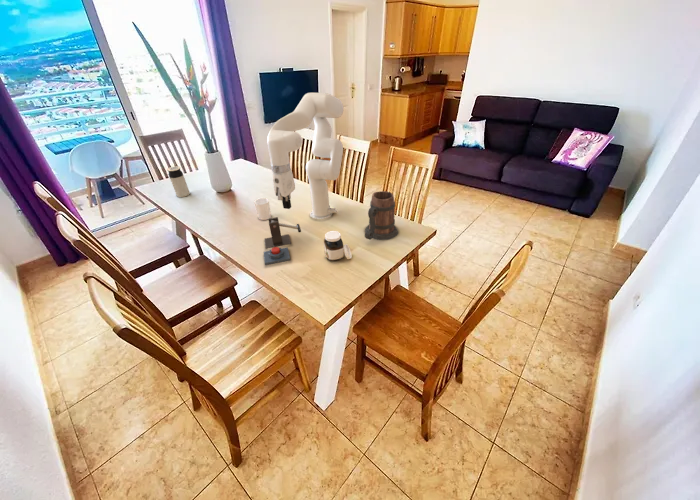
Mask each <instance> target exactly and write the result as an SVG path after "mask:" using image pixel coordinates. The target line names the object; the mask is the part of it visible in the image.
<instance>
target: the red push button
mask: <svg viewBox="0 0 700 500" xmlns="http://www.w3.org/2000/svg"><path fill="white" fill-rule="evenodd" d="M279 248H280V246H278V247H272V248H270V250H271V251H272V254H279V253H280V249H279Z"/></svg>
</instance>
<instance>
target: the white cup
mask: <svg viewBox="0 0 700 500" xmlns="http://www.w3.org/2000/svg"><path fill="white" fill-rule="evenodd" d="M253 203H254V204H253V205H254V207H255V211H256V214H257V218H258V219H259V220H260V221H266V220H268V219H269V218H272V215H271V214H272V213H271V205H270V199H269V198H267V197H259V198H257V199H255V200H254V201H253Z"/></svg>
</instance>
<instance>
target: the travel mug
mask: <svg viewBox="0 0 700 500" xmlns="http://www.w3.org/2000/svg"><path fill="white" fill-rule="evenodd" d="M166 171H167V172H168V178H169V180H170V182H171V185H172V187H173V190H174V192H175V195H176V197H178V198H185V197H187V196H189V195H190V194H191V192H190V189H189V187H188V183H187V181H186V177H185V176H184V173H183V171H182V170H181V167H180V166H179V165H177V166H171V167H168V168H167V169H166Z"/></svg>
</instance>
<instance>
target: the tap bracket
mask: <svg viewBox="0 0 700 500" xmlns="http://www.w3.org/2000/svg"><path fill="white" fill-rule="evenodd" d="M267 220H268V227H269V231H270V235H271V236H270V237H265V238H264V246H265V249H272V248H274V247H282V246H288V245H292V243H291V242H292V241H291V237H290V234H284V235H283V234H282V232H281V228H280V227H281V226H279V223H280V222H279V217H277V216H276V217H270V218H269V219H267ZM271 220H275V221H276V222H271Z"/></svg>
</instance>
